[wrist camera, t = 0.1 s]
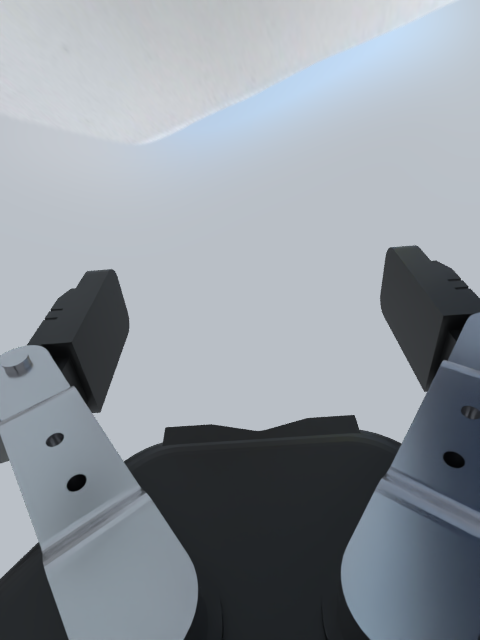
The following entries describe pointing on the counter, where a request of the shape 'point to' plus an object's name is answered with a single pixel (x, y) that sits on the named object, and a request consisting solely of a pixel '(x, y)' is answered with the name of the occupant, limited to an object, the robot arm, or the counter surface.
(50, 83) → the counter surface
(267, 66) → the counter surface
